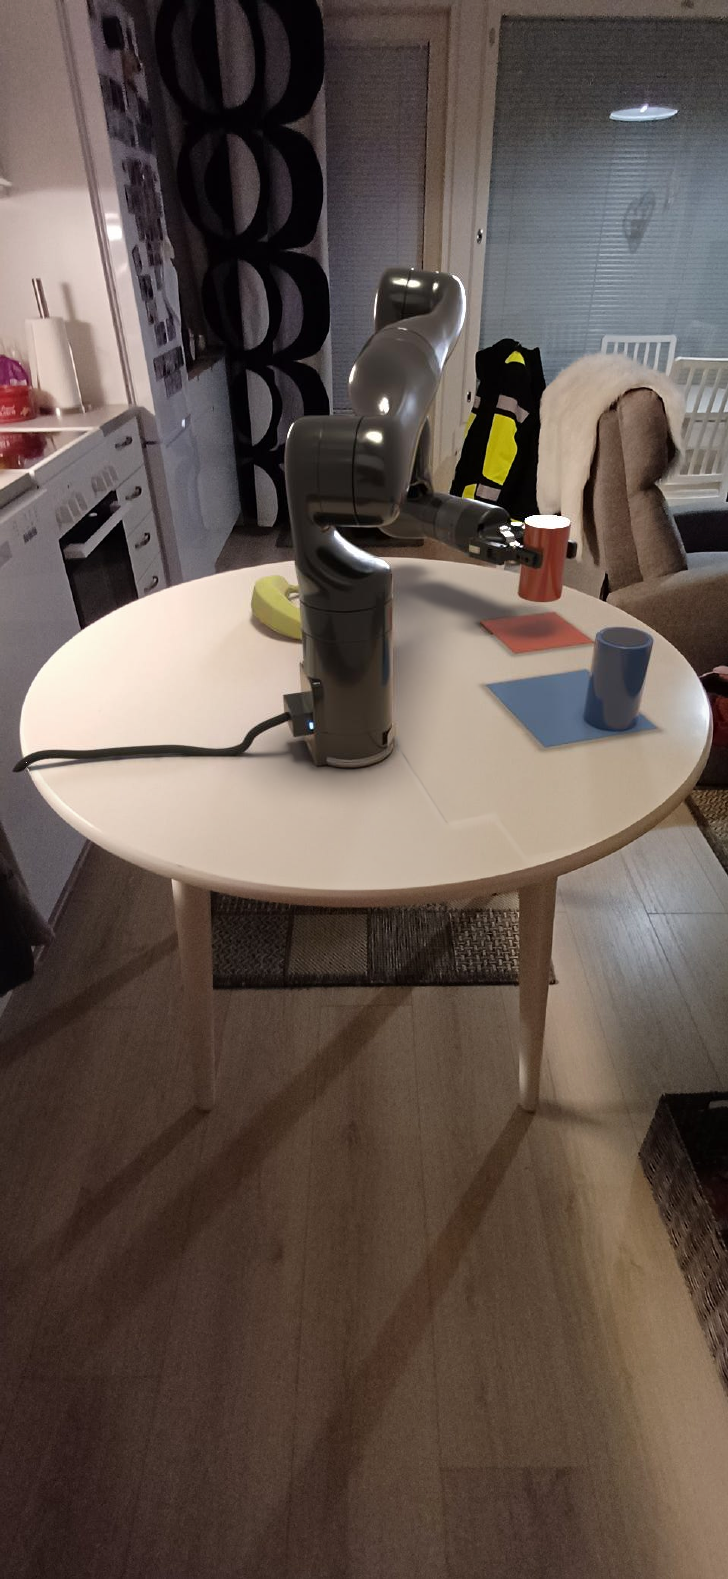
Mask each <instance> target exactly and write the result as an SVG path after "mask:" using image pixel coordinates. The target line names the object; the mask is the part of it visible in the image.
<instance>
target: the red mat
mask: <svg viewBox="0 0 728 1579" xmlns="http://www.w3.org/2000/svg"><path fill="white" fill-rule="evenodd" d="M479 624H480V625H481V626H483V628H484V629H486V631H488V632H489V634H491V635H494V636H495V637H496V638H497V639H498V640H499V641H501V643H503V644H504V645H505V646H506V647H507V648H508V649H509V650H511V651H512V652H513V653H514V654H523V653H529V652H535V651H544V650H550V649H558V648H564V647H571V646H580V645H585V644H595V640H592V639H591V638H590V637H588V636H587V635H585V634H584V633H583V632H582V631H580V630H579V629H578V628H576V627H575V626H574V625H572V624H571V623H569V621H567V620H565V619H564V618H563V617H561V615H560V614H557V613H556V612H555V611H549V612H541V613H533V614H527V615H520V616H512V617H503V618H496V619H495V618H494V619H489V620H481V621H479Z"/></svg>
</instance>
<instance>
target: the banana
mask: <svg viewBox="0 0 728 1579" xmlns="http://www.w3.org/2000/svg"><path fill="white" fill-rule="evenodd" d="M291 594H299V590H298V585H293V584H290V583H289V581H288V580H287V579H286V577H284V576H283V575H279V574H272V575H268V576H263V577H260V578H259V579H257V580H256V581H255V583H254V586H253V590H252V596H251V600H250V608H251V611H252V613H253V615H254V616H255V617H256V618H257V619H258V620H259V621H260V622H261V623H262V624H263V625H265V626H266V627H268V628H270V629H271V630H273V631H274V632H276V633H277V634H280V635H282V636H285V637H287V638H291V639H294V640H298V641H299V640H300V641H302V632H301V617H300V607H297V606H296V605H294V603H292V602H291V601H290V600H289V598H290V595H291Z"/></svg>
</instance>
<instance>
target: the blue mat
mask: <svg viewBox="0 0 728 1579" xmlns="http://www.w3.org/2000/svg"><path fill="white" fill-rule="evenodd" d="M589 675H590V671H588V670H587V669H582V670H574V671H568V672H561V673H554V674H547V675H541V676H534V677H528V678H522V679H514V680H508V681H501V682H494V683H488V684H485V686H486V687H487V688H488V689H489V690H490V692H492V693H493V694H494V695H495V696H496V697H497V699H499V701H500V702H501V703H502V704H503V705H504V706H505V707H506V708H507V709H508V711H510V713H512V714H513V716H514V717H516V719H517V720H518V721H519V722H520V723H521V724H522V725H523V726H524V727H525V728H526V730H528V732H530V734H531V735H532V736H533V737H534V738H535V739H536V740H537V741H538V742H539V743H540V744H541V746H543V748H550V747H556V746H562V745H567V744H573V743H579V742H584V741H590V740H596V739H602V738H609V737H613V736H619V735H625V734H631V733H637V732H642V731H650V730H655V729H658V726H656V725H655V724H654V723H652V721H650V720H649V719H647V718H646V717H645V716H644V715H643V714H642V713H641V712H639V715H638V720H637V724H636V725H635V726H634V727H633V728H631V729H629V730H625V731H606V730H601V729H598V728H595V727H593V726H591V725H589V724H588V723H587V722H586V721H585V720H584V718H583V712H584V706H585V700H586V694H587V687H588V681H589Z"/></svg>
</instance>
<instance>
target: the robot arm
mask: <svg viewBox="0 0 728 1579" xmlns="http://www.w3.org/2000/svg"><path fill="white" fill-rule="evenodd" d="M465 316H466V295H465V288H464V286H463V284H462V282H461V281H460V279H459V278H458V277H457V276H455V275H453V274H451V273H447V272H443V271H434V270H428V269H420V268H412V267H404V266H390V267H388V268H386V269H385V270H384V271H383V273H382V274H381V276H380V279H379V281H378V284H377V287H376V293H375V298H374V305H373V321H372V322H373V334H372V335H371V336H370V337H369V338H368V340H367V341H366V342H365V344H364V345H363V347H362V348H361V350H360V352H359V354H358V355H357V357H356V359H355V361H354V364H353V366H352V368H351V370H350V372H349V377H348V384H347V395H348V399H349V404H350V406H351V409H352V412H353V414H354V415H346V414H345V415H344V414H340V415H339V414H311V415H310V414H308V415H303V416H302V415H301V416H300V417H298V418H296V419H295V420H294V421H293V422H292V424H291V426H290V427H289V429H288V433H287V437H286V440H285V445H284V446H285V447H284V457H283V458H284V479H285V481H284V482H285V490H286V491H285V492H286V498H287V506H288V513H289V522H290V530H291V539H292V548H293V560H294V571H295V575H296V579H297V586H298V590H299V593H298V600H299V601H298V602H299V609H300V617H301V632H302V640H301V646H302V660H301V661H300V662H299V665H298V666H299V667H298V668H299V678H300V691H299V692H293V693H286V694H283V695H282V699H283V700H282V701H283V713H281V714H277V715H275V716H273V717H270V718H268V719H266V720H264V721H261V722H260V723H258V724H256V725H255V726H254V727H252V728H251V729H250V730H248V732H247V734H246V735H245V736H244V739H243V740H242V742H241V743H238V744H236V745H233V746H230V747H223V748H214V747H213V748H212V747H202V746H194V745H186V744H152V745H151V744H150V745H132V746H131V745H130V746H117V747H106V748H105V747H104V748H97V749H96V748H95V749H43V750H38V751H35V752H32V753H30V754H27V755H25V756H24V757H22V758H21V759H20V760H19V761H18V762H16V764H15V765H14V767H13V769H12V772H13V773H21V772H24V771H25V769H27V768H28V767H29V766H31V765H33V764H34V763H37V762H41V761H44V760H52V759H55V760H58V759H59V760H94V759H103V758H104V759H105V758H117V757H128V756H143V755H145V756H146V755H147V756H148V755H164V754H165V755H166V754H167V755H168V754H169V755H172V754H176V755H188V756H197V757H233V756H237V755H241V754H243V753H245V752H246V751H248V750H249V748H250V747H251V746H252V744H253V743H254V740H255V739H256V738H257V737H258V736H259V735H261V734H263V733H265V732H267V731H268V730H271V729H272V728H275V727H277V726H280V725H282V724H284V723H287V725H288V727H289V730H290V732H291V734H292V737H293V738H299V737H304V742H305V744H306V746H307V749H308V752H309V754H310V755H311V758H312V760H313V762H314V764H315V765H316V766H317V767H319V766H324V765H325V766H327V765H328V766H332V767H337V768H360V767H365V766H369V765H374V764H376V763H378V762H380V761H382V760H384V759H386V758H387V757H388V756H389V755H390V754H391V753H392V751H393V748H394V737H395V734H396V733H397V719H395V720H394V722H393V692H394V691H393V690H394V689H393V686H394V684H393V683H394V682H393V679H394V678H393V676H394V674H393V672H394V671H393V670H394V669H393V668H394V666H393V665H394V663H393V660H394V658H393V657H394V656H393V653H394V651H393V648H394V640H393V637H394V575H393V571H392V568H391V567H390V565H389V563H388V562H387V561H386V560H384V559H383V558H381V557H379V556H377V555H375V554H372V553H370V552H368V551H366V550H364V549H361V548H360V547H358V546H356V545H354V544H353V543H351V542H350V541H348V540H347V539H346V538H345V537H344V536H342V535H341V533H340V532H339V531H338V530H337V528H336V527H351V528H352V527H353V528H378V529H379V530H380V531H381V532H382V533H384V534H386V535H387V536H389V537H392V538H398V539H417V540H418V539H428V540H431V541H434V542H437V543H439V544H443V545H444V546H447V547H448V548H450V549H452V550H454V551H457V552H460V553H462V554H465V555H468V557H469V558H472V559H475V560H479V561H482V562H486V563H489V564H492V565H496V566H501V567H502V566H504V565H506V562H508V563H509V564H511V565H517V564H522V565H525V566H528V567H531V568H534V569H538V568H541V566H542V560H543V553H542V552H541V551H538V550H535V549H532V548H529V547H526V546H522V544H523V534H524V524H525V523H522V522H513V520H512V519H511V516H510V514H509V512H508V511H507V510H506V509H504V508H503V507H500V506H497V505H494V504H490V503H486V502H483V501H480V500H476V499H473V498H468V497H459V496H456V495H452V494H449V493H445V492H441V491H435V488H434V484H433V480H432V479H433V478H432V475H431V470H430V466H429V464H430V454H431V444H432V426H431V422H430V418H429V414H430V413H431V412H430V411H431V409H432V407H433V405H434V402H435V399H436V396H437V393H438V391H439V387H440V383H441V380H442V375H443V372H444V369H445V366H446V365H447V362H448V361H449V359H450V358H451V356H452V355H453V352H454V351H455V348H456V347H457V344H458V342H459V339H460V336H461V333H462V330H463V325H464V322H465ZM578 547H579V546H578V542H577V541H576V540H575V541H574V540H571V539H569V543H568V550H567V558H566V559H568V560H573V559H575V558H576V557H577V553H578ZM26 762H27V763H26Z"/></svg>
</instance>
